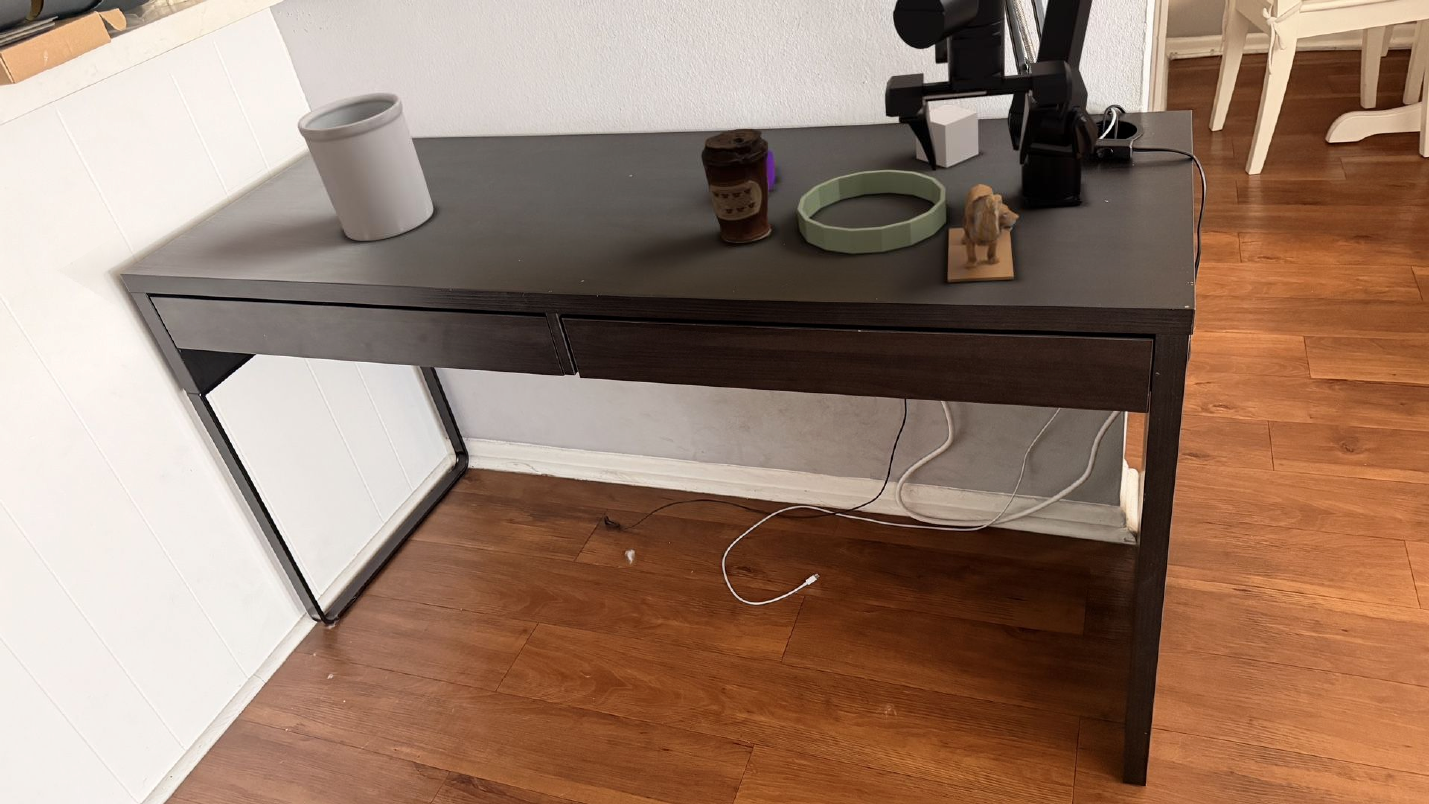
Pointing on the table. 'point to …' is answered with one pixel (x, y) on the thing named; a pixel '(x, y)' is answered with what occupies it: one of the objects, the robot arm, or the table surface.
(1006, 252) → the cork mat
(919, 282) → the table surface
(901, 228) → the pale green faceted ring
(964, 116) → the white cube
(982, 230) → the lion figurine
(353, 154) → the utensil holder
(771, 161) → the crystal
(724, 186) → the coffee cup
